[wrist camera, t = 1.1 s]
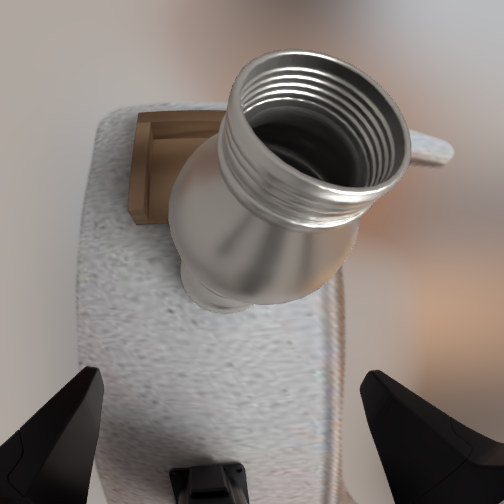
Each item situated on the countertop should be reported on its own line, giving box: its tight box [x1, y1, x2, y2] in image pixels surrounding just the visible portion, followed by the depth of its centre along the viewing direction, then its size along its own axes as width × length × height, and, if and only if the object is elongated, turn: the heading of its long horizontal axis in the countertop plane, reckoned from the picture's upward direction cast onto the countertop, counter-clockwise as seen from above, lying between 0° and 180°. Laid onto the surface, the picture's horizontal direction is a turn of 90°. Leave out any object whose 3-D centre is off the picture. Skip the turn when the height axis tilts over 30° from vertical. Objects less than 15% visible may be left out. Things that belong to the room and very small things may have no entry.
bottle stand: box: [128, 110, 227, 225], centre depth 24 cm, size 9×14×4 cm, turn 95°
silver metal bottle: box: [168, 49, 411, 314], centre depth 14 cm, size 6×7×20 cm
